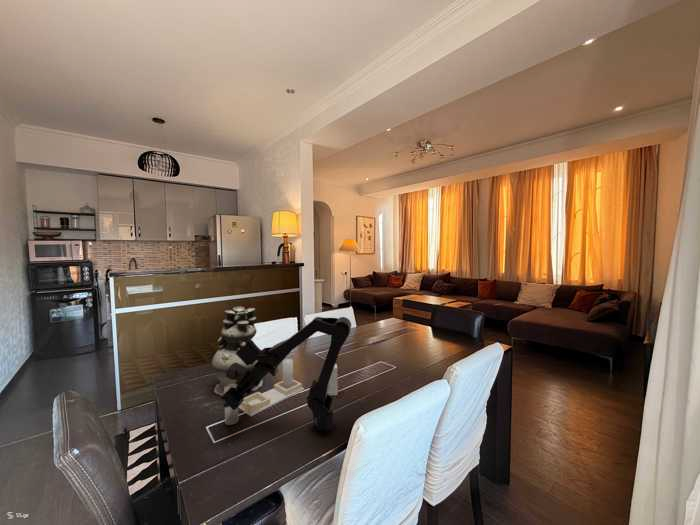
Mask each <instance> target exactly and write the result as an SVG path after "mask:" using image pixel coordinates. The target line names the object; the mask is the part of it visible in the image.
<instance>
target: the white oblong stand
mask: <svg viewBox="0 0 700 525" xmlns="http://www.w3.org/2000/svg"><path fill="white" fill-rule="evenodd" d="M302 385H303V383H301V382H299V381H297V380H295V379H294V360H293V359H292V358H285V359H284V360H283V361H282V380H281V381H279V382H277V383H274V385H273V388H272V389H269V390H267V391H265V392H263V393H262V392H260V391H256V392H254V393H252V394H250V395H248V396H244V401H243V402H242V403H241V405H240V406H239V407H238V409H240V410H241V411H242V412H244V413H245V414H247V415H248V416H249V417H253V416H255V415H256V414H259V413H261V412H263V411H264V410H266V409H269V408H270V407H273V406H275V405H277V404H278V403H280V402H283V401H285V400H286V399H288V398H290V397H292V396H294V395H296V394H298V393H300V392H303V391H304V390H305V388H304V387H303V386H302Z"/></svg>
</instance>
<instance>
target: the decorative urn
mask: <svg viewBox="0 0 700 525" xmlns="http://www.w3.org/2000/svg"><path fill="white" fill-rule="evenodd" d="M254 312H256V308H254V307H249V308H248V309H245V307H243V306H234V307H232V310H224V314H225V315H227V316H226V318H225V319H224V320H223V321H222V323H223V324H224V326H223V328H222V329H221V332H220V333H221V336H220V337H219V338H218V339H217V344H219V346H218V350H217V351H216V352H215V354H214V356H213V358H212V359H211V360H212V361H211V368H212V371H213V373H214V375H215V376H216V378H217V379H218V380H219V382H220V383H217V384H216V385H215V387H214V390H213V392H214V393H216V394H217V395H219V396H221V397H222V396H223V395H224V387H225V386H226V385H229V384H236V383H235V382H236V381H237V380H234V379H233V380H231V379H229V378H227V377H226V371H227V370H228V369H229V367H230V366H231V365H232V364H233V363H238V364H240V365H242V366H244V367H245V368H247V369H248V370H249V369H250V368H252V367H253V366H254V365H255V364H256V363H257V362H258V360H256V361H255V362H254V363H253V364H252V365H251V364H249V365H246V364H245V363H244V362H243V361H242V360H241V359H240V358H239V357H238V356H237V355H236V352H237V351H238V350H239V349H240V348H242V347H243V346H244V345H245V344H247V343H248V342H249V341H250V340H253V338H254V337H255V336H256V334H257V332H258V330H257V328H256V326H255V322H256V320H257V316H254ZM255 345H256V346H257V344H256V343H255ZM263 383H264V379H263V380H262V381H261V382H260V383H259V384H258V385H257V386H256V387H255V388H254V389H253V390H252V391H251V392H253V391H256V390H258V388H260V387H262V386H263Z"/></svg>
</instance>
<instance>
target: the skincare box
mask: <svg viewBox="0 0 700 525" xmlns="http://www.w3.org/2000/svg"><path fill="white" fill-rule="evenodd" d="M338 376H339V375H338V364H336V363H335V366H334V369H333V371H332V374H331V377H330V380H329V388H328V394H329V395H330V396H338V395H339V394H338V393H339V392H338V391H339V388H338V387H339V385H338V384H339V383H338V379H339V378H338Z"/></svg>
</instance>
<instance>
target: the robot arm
mask: <svg viewBox="0 0 700 525" xmlns="http://www.w3.org/2000/svg"><path fill="white" fill-rule="evenodd" d="M351 329H352V322H351V320H350V319H349V318H347V317H345V316H343V317H342V316H341V317H321V316H316V317H314V318H313V319H312V321H310V322H309V323H307V324H306V325H304V326H303V327H302V328H300V330H298V331H297V332H295V333H294V334H293V335H292V336H290V337H288V338H287V339H285V340H283V341H280V342H278V343H276V344H274V345H272V346H271V347H264V348H262V349H261V348H259V346H258V345H257V344H256V343H255V342H254V340H253V339H251V340H250V341H249V342H248V343H247V344H245V345H244V346H243V347H242V348H240V349H239V350H238V351H237V352H236V355H237V356H238V357H239V358H240V359H241V360H242V361H243V362H244V363H245V364H246V365H249V364H251V365H252V364H253V363H254V362H255V361H256V360H258V362H257V363H256V364H255V365H254V366H253V367H252V368H250V369H249V370H248V369H247V368H245V367H244V366H242V365H240V364H238V363H233V364H232V365H231V366H230V367H229V369H228V370H227V371H226V377H227V378H229V379H231V380H233V379H234V380H237V381H236V382H235V383H236V384H237V385H238V386H237V387H236V389H237V390H238V391H237V390H236V389H235V388H234V387H231V388H230V389H229V390H228V391H227V392H226V393H225V394H224V395H223V396H222V395H221V399H222V400H223V401H224V403H223V405H222V406H223V408H224V409H225V408H226V407H231V408H232V409H233V410H236V409H237V408H238V409H239V406H240V405H241V403H242V402H243V401H244V398H245V395H249V394H251V392H253V391H254V390H253V389H254V388H255V387H256V386H257V385H258V384H259V383H260V382H261V381H262V380H263V381H264V379H265V378H266V377H267V376H268V375H269V374H270V375H272V376H273V377H275V376H276V375H277V373H278V372H279V369H278V367H279V366H280V364H281V363H283V360H284V359H286V357H287V356H288V355H289V354H290V353H291V352H292V351H293V350H294V349H296V348H297V347H298V346H300V345H302V343H304V342H305V341H306V340H308V339H309V338H310V337H312V336H313V335H314V334H316V333H317V332H318V333H319V332H320V333H322V334H325V335H328V336H331V337H330V346H329V348H328V352H327V354H326V356H325V360H324V362H323V366H322V369H321V371H320V374H319V377H318V380H316V379H313V381H312V383H311V385H310V388H309V392H308V393H307V396H306V398H305V399H306V400H307V402H306V403H307V406H308V408H309V409H310V410H311V412H312V415H313V424H312V425H311V426H310V430H312V431H313V432H315V433H317V434H318V435H320V436H322V437H325V436H327V435H328V434H329V433H330V432H332V431H333V430H334V429H336V428H337V425H336V424H334V412H333V411H332V406H333V403H334V398H333V397H332V395H329V394H328V388H329V380H330V377H331V374H332V371H333V369H334V366H335V364H336V362H337V360H338V357H339V354H340V352H341V349H342V347H343V346H344V344H345V342H346V340H347V339H348V337H349V335H350V333H351ZM255 344H256V345H255ZM252 390H253V391H252Z"/></svg>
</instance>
